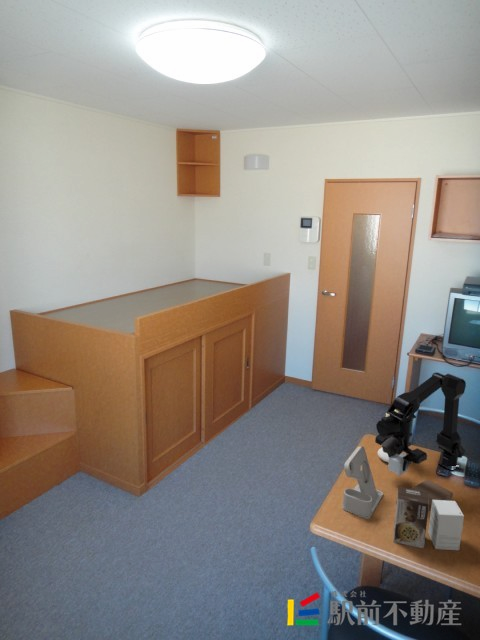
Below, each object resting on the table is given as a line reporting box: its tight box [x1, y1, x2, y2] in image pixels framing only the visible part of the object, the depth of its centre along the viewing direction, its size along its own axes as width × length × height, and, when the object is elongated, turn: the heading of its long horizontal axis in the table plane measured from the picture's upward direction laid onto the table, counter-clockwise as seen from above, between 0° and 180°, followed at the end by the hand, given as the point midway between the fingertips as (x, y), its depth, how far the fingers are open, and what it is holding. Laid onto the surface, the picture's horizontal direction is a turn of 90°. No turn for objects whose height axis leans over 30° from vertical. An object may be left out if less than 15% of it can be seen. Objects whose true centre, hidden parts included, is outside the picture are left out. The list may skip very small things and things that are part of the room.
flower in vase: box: [377, 410, 406, 463], centre depth 184 cm, size 13×11×25 cm
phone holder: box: [341, 445, 384, 520], centre depth 159 cm, size 17×10×18 cm, turn 146°
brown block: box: [411, 478, 454, 508], centre depth 163 cm, size 10×10×3 cm
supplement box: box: [427, 500, 465, 551], centre depth 140 cm, size 7×7×13 cm
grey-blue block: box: [387, 454, 409, 476], centre depth 168 cm, size 5×5×5 cm
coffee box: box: [393, 486, 430, 549], centre depth 141 cm, size 9×6×16 cm
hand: (397, 467), depth 169 cm, fingers closed on grey-blue block, 5 cm apart
